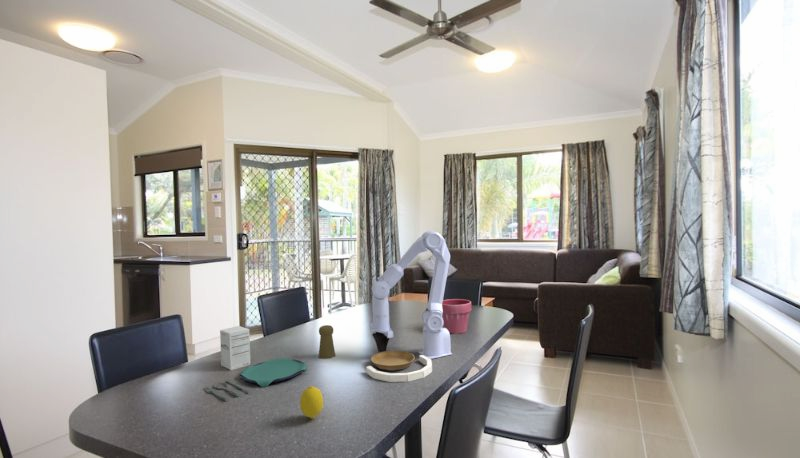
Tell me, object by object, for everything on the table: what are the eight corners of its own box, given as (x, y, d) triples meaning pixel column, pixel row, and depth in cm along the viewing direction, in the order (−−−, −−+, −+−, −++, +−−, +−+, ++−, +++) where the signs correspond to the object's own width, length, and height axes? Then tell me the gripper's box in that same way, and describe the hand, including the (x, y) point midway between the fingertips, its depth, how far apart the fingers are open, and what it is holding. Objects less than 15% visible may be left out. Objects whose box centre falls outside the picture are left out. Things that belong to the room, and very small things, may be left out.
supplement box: (220, 366, 140) (219, 329, 140) (241, 360, 145) (240, 325, 145) (230, 371, 135) (228, 333, 135) (251, 364, 140) (250, 328, 140)
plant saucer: (416, 357, 143) (416, 350, 142) (413, 373, 128) (413, 365, 128) (374, 357, 144) (374, 350, 144) (367, 373, 129) (367, 365, 129)
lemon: (302, 414, 102) (301, 382, 102) (324, 412, 103) (323, 381, 103) (298, 424, 97) (297, 391, 97) (322, 423, 97) (321, 390, 97)
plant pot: (440, 326, 183) (439, 298, 183) (471, 326, 182) (470, 298, 181) (438, 335, 169) (437, 305, 169) (472, 335, 167) (472, 304, 167)
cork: (331, 359, 144) (330, 328, 143) (315, 358, 145) (314, 327, 145) (337, 353, 150) (336, 324, 149) (322, 353, 151) (321, 323, 151)
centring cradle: (422, 360, 139) (422, 354, 139) (444, 372, 128) (444, 366, 127) (366, 372, 129) (366, 366, 129) (384, 387, 118) (384, 380, 118)
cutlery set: (318, 372, 131) (317, 365, 131) (226, 407, 109) (226, 398, 109) (284, 360, 145) (284, 354, 145) (197, 389, 123) (196, 381, 123)
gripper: (362, 312, 148) (363, 349, 148) (379, 320, 135) (380, 361, 135) (380, 310, 151) (381, 346, 151) (398, 317, 138) (399, 357, 138)
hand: (382, 353), depth 143 cm, fingers closed
